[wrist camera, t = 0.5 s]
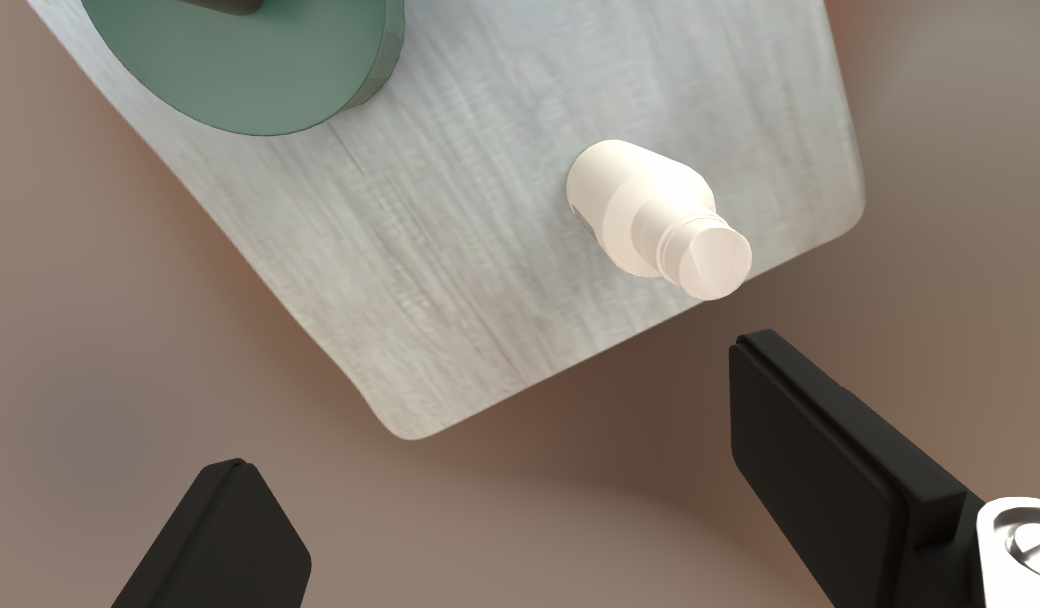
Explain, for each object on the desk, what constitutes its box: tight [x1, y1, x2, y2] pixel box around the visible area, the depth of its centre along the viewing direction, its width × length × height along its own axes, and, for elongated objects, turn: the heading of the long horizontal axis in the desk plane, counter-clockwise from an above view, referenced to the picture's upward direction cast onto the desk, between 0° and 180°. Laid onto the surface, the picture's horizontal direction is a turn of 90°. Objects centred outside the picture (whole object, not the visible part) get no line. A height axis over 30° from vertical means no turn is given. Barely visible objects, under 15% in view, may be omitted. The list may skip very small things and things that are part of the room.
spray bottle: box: [566, 140, 752, 300], centre depth 30 cm, size 7×7×18 cm
